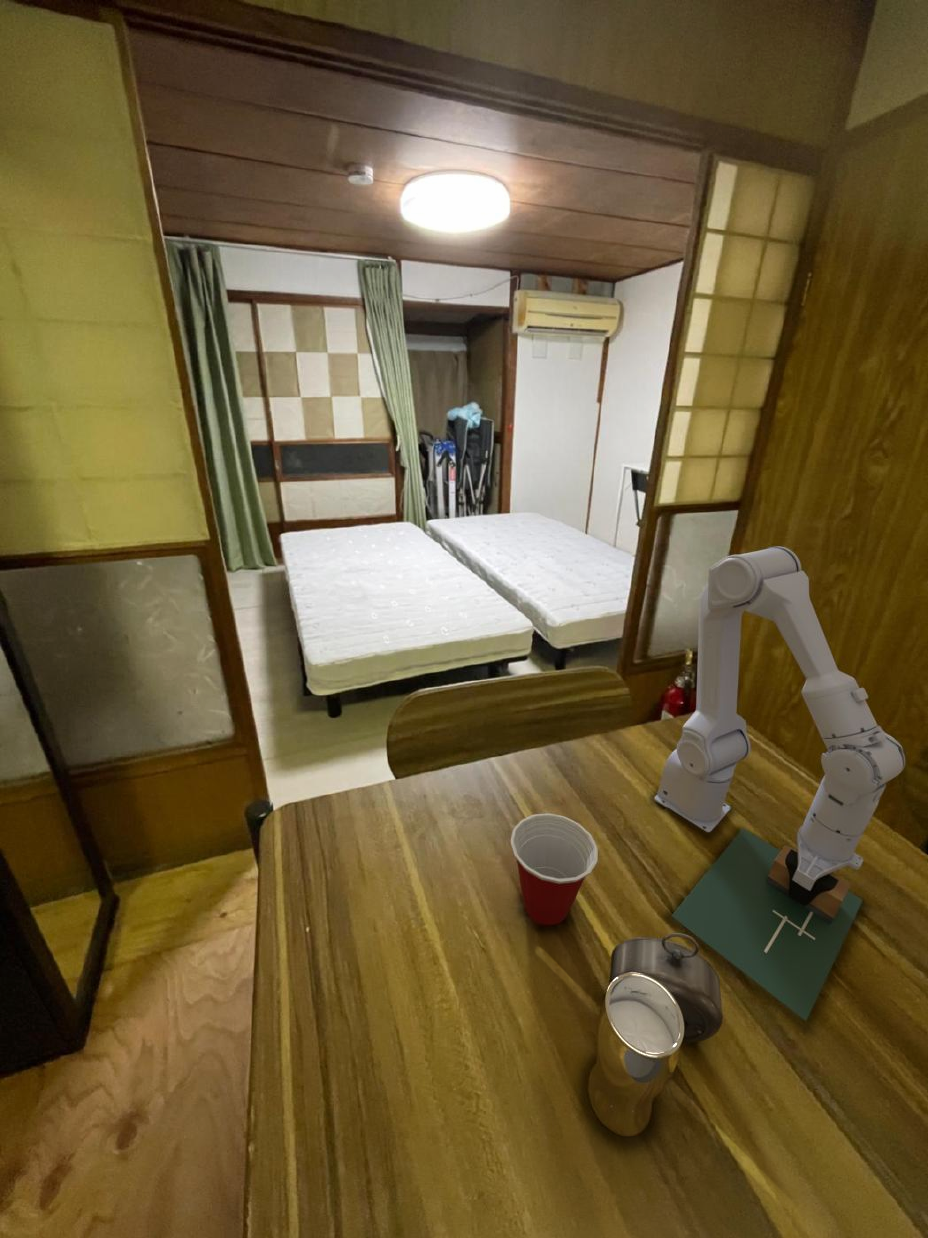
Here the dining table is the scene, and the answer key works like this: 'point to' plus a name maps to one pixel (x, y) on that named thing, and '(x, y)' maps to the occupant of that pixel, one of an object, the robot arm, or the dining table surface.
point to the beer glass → (633, 1051)
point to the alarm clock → (676, 979)
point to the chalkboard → (765, 924)
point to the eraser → (821, 904)
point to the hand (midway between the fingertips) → (803, 890)
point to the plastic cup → (551, 864)
